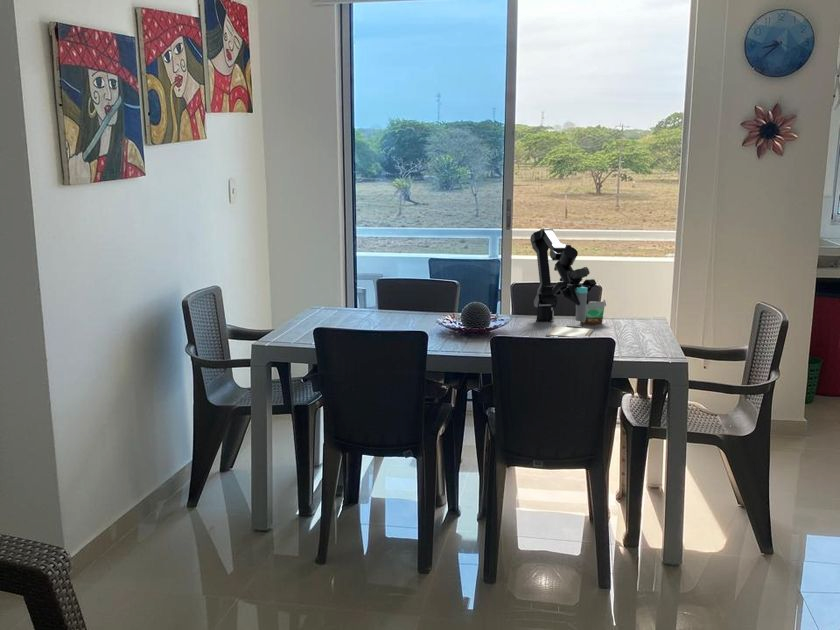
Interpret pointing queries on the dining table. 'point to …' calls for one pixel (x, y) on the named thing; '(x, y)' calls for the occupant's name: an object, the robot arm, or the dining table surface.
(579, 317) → the marker
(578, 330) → the clipboard
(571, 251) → the robot arm
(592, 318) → the food container
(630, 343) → the dining table surface
